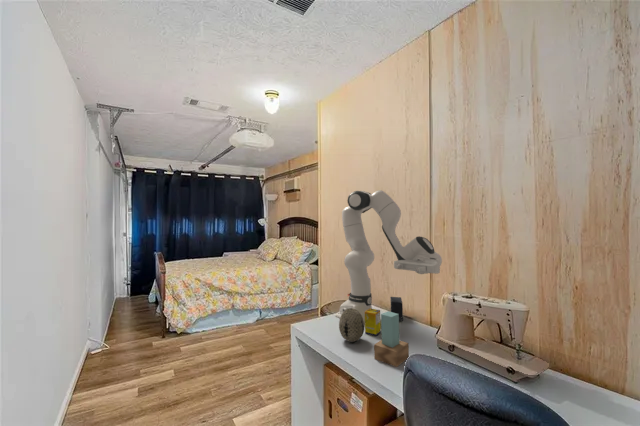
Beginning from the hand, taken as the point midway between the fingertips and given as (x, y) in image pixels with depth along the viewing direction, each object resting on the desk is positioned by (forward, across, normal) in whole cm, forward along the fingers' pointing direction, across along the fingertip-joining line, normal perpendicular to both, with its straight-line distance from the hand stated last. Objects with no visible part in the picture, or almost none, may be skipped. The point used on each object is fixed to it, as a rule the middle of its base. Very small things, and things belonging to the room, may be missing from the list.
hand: (407, 268), depth 129 cm
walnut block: (+15, 0, +34) cm, 37 cm away
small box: (-27, -22, +34) cm, 49 cm away
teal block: (+15, 0, +28) cm, 32 cm away
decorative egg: (+13, -22, +34) cm, 43 cm away
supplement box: (-1, -20, +34) cm, 40 cm away
